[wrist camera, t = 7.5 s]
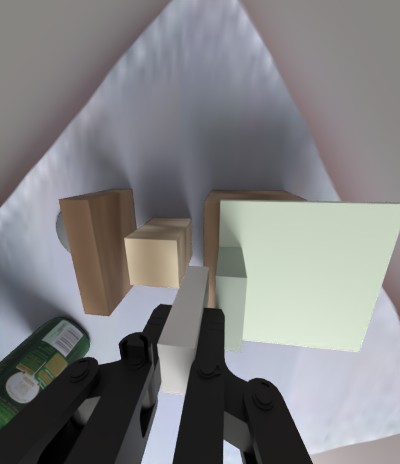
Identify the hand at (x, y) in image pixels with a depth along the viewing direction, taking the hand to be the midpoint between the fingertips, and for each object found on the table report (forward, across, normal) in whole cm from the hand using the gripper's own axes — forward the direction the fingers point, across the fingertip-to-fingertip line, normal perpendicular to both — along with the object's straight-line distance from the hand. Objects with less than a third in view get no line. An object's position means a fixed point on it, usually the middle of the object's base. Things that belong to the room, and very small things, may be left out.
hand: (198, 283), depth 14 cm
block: (+9, -4, 0) cm, 10 cm away
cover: (+2, +7, 0) cm, 7 cm away
